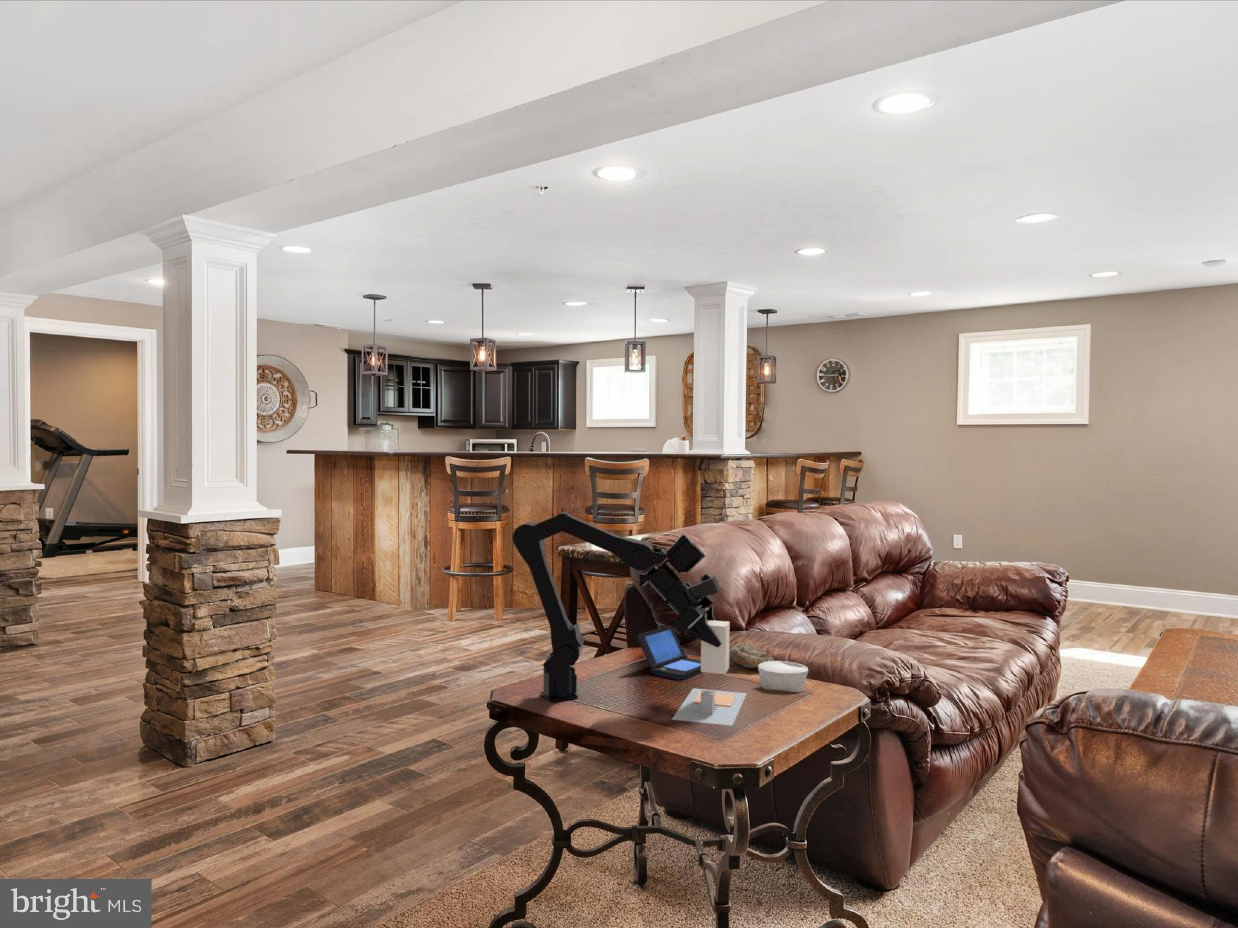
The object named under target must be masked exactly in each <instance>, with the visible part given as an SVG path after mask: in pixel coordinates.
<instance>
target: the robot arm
mask: <svg viewBox="0 0 1238 928" xmlns="http://www.w3.org/2000/svg"><path fill="white" fill-rule="evenodd" d="M560 533H566V534H567V535H570V536H573V537H574V538H577V539H579V540H581V541H583V542H586V543H588V544H590V545H593V546H595V547H597V548H599V549H602V550H605V551H606V552H608V553H611V554H612V555H614V556H615V557H616V558H618V559H619V560H620V561H621V562H623V563H624V564H626V565H627V566H628V567H630V568H631V569H633V570H635V571H640V572H642V571H646V570H647V569H649V568H650V567H651V566H652V565H653V566H652V567H651V568H650V569H649V570H648V571H647V572H646V573H639V574H638V578H639V584H638V586H639V587H640V588H642V587H644V586H645V585H647V583H648V584H650V585H651V587H652V588H653V589H654V590H655V591H656V593H658V595H660V596H661V598H663V599H662V600H664V601H663V602H662V603H663V604H664V605H665V606H666V607H667V606H668V605H669V607H670V608H671V609H672V610H673V611H674V612H675V613H676V614H677V615H676V619H675V620H674V621H673V622H672V623H673V625H672V627H673V629H674V630H675V633H676V634H678V635H679V636H681V634H682V633H683V632H684V635H688V636H690V637H692V638H695V639H697V640H700V641H701V640H702V641H704V642H707V643H709V644H711V645H713V646H715V647H719V646H720V645H721V642H720V641H719V639H718V638H717V636H716V635H715V633H714V632H713V631H712V629H711V628H710V626H709V625H708V623H707V620H713V621H717V620H716V618H715V616H714V611H715V610H714V609H715V604H713V603H714V602H715V598H713V595H716V594H718V593H719V592H720V591H721V587H720V584H719V578H717V577H716V576H715V575H714V576H712V575H711V574H709V573H706V574H703V575H702V576H701V577H700V581H699V582H696V583H695V584H691V583H690V582H689V581H683V579H682V578H681V577H680V576H679V575H678V574H677V573H676V572H678V573H679V574H683V573H685V574H689V573H690V571H692V570H693V569H694V568H695V567H696V566H697V565H698V564H699V563H700V562H701V561H702V560H703V559H705V558H706V554H705V553H704V552H703V551H702V549H701V548H700V547H699V546H698V545H697V544H696V543H695V542H693V541H692V540H691V539H690V538H689V537H687V535H686V534H681V535H680V536H679V537H678V539H677V540H676V541H675V542H674V544H672V545H671V546H670V547H669V548H668V549H665V548H659V547H658V548H657V547H653V546H652V544H650V543H649V542H647V541H644V540H640V539H635V538H631V537H627V536H620V535H617V534H615V533H613V532H610V531H608V530H605V529H604V528H602V527H599V526H596V525H594V524H592V523H589V522H588V521H585V520H582V519H580V518H578V517H576V516H573V515H572V514H571V513H569V512H566V511H564V512H561V513H559V514H557V515H555V516H553V517H550V518H547V519H545V520H543V521H540V522H538V523H536V522H534V521H533V522H532V521H526V522H524V523H522V524H520V525H519V526H518V527H516V528H515V529H514V531H513V534H512V537H511V538H512V543H513V544H514V546H515V548H516V550H517V552H518V553H519V555H520V557H521V559H522V560H523V561H524V562H525V563H526V565H527V566H528V568H529V571H530V574H531V577H532V579H533V582H534V584H535V588H536V591H537V595H538V596H539V599H540V601H541V605H542V607H543V610H544V613H545V615H546V618H547V621H548V624H549V629H550V643H551V648H552V651H551V652H550V653H549V655H548V656H547V657H546V659H545V660H544V662H543V664H542V667H543V682H542V683H543V688H542V689H543V691H539V692H540V693H539V694H540V696H542V697H544V698H545V699H546V700H548V701H550V702H552V703H553V702H554V703H555V702H560V701H568V700H573V699H578V698H579V695H578V694H577V692H578V686H577V685H578V681H577V680H578V676H577V674H576V668H575V667H573V666H572V665H573V664H575V663H576V662H577V661H578V660H579V657H580V656H581V654H582V652H583V648H584V642H585V637H584V636H583V635H582V633H581V628H580V624H579V622H577V623H576V624H574V625H573V624H572V622H571V621H570V620H569V618H568V617H567V613H566V610H565V607H564V605H563V602H562V600H561V596H560V593H559V591H558V588H557V585H556V581H555V580H554V576H553V573H552V570H551V568H550V565H549V562H548V559H547V558H548V557H547V547H546V546H547V545H546V539H548V538H550V537H552V536H555V535H557V534H560ZM662 562H663V563H662ZM657 564H660V566H658V567H657V566H656V565H657ZM669 564H670V565H671V566H672V568H674V569H672V568H671V566H670V565H669ZM675 571H676V572H675ZM711 605H712V606H711ZM686 629H687V630H686Z"/></svg>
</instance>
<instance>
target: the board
mask: <svg viewBox="0 0 1238 928" xmlns="http://www.w3.org/2000/svg"><path fill="white" fill-rule="evenodd" d="M747 694H748V693H747V692H739V691H738V692H736V691H726V690H717V689H716V690H714V689H703V688H694V687H693V688H692V689H691V691H690V692H689V694H688V695H687V696H686V699H684V701H683V703H682V704H681V706H680V707H679V708H678V710H677V711H676V713H675V714H674V716H673V717H672V719H671V721H672V720H674V721H682V722H692V723H702V724H709V725H710V724H711V725H720V726H731V727H733V726H734V723H735V721H736V719H737V717H738V715H739V712H740V710H741V709H742V705H743V703H744V701H745V698H746V697H747Z"/></svg>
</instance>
